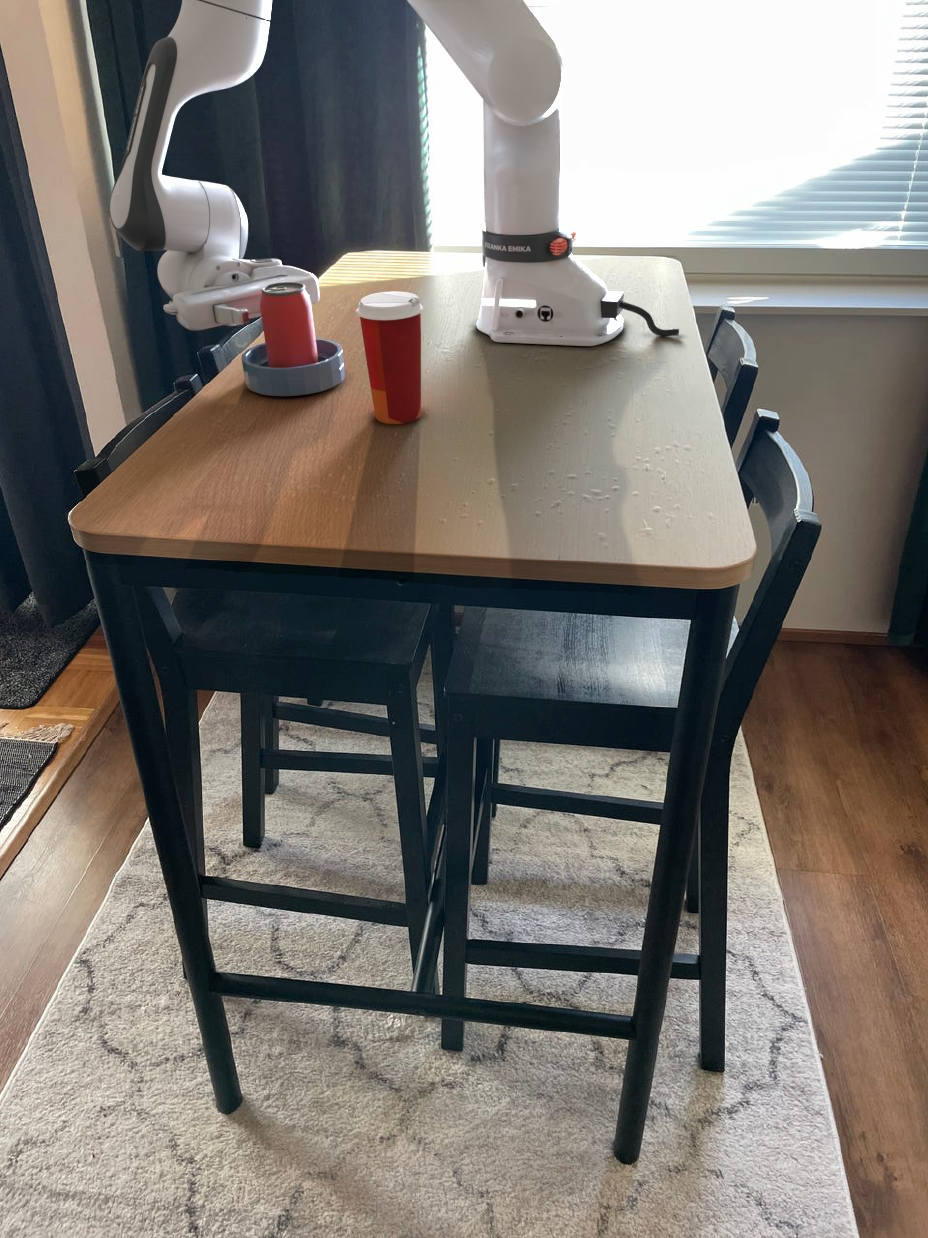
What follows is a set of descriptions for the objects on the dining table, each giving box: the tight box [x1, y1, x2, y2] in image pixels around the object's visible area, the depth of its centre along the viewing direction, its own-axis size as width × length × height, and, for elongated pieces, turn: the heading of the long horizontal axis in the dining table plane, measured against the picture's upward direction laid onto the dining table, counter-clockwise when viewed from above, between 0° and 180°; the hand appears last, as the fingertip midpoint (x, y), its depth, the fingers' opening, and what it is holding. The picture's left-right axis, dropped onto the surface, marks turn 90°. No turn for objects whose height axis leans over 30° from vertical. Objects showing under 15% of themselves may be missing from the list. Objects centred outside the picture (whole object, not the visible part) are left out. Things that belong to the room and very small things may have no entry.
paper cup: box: [355, 290, 424, 425], centre depth 109 cm, size 8×8×14 cm
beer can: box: [260, 282, 318, 368], centre depth 121 cm, size 7×7×12 cm
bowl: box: [241, 337, 346, 397], centre depth 124 cm, size 13×13×4 cm
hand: (276, 310), depth 122 cm, fingers open, 8 cm apart
